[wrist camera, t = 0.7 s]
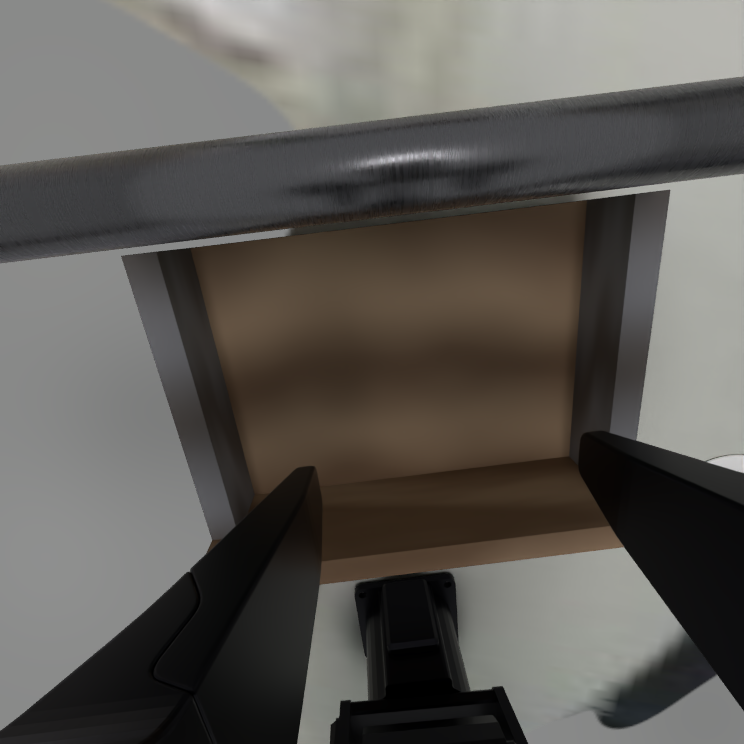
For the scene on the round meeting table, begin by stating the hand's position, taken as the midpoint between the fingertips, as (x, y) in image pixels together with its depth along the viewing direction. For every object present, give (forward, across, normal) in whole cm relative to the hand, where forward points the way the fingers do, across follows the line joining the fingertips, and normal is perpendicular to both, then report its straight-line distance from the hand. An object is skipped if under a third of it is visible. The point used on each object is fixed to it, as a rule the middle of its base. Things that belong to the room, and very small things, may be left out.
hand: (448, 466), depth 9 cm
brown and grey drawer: (+12, 0, +2) cm, 12 cm away
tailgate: (+10, 0, -6) cm, 12 cm away
